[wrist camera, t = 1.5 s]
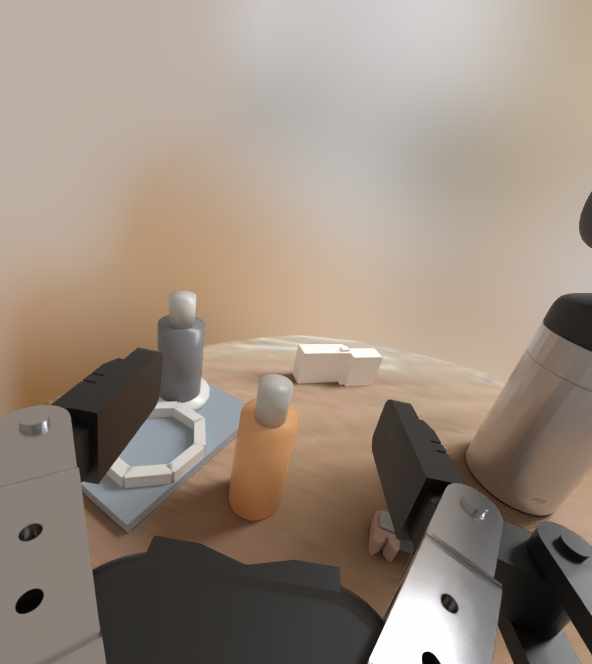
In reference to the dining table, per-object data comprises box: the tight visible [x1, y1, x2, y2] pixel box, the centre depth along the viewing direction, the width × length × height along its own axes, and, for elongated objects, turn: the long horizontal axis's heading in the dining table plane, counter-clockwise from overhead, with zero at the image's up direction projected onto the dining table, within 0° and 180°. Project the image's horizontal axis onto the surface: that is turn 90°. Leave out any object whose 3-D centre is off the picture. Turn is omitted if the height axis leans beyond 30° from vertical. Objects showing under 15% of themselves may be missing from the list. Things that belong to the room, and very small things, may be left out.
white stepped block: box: [292, 344, 383, 386], centre depth 45 cm, size 15×11×6 cm
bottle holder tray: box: [81, 291, 245, 533], centre depth 29 cm, size 16×11×13 cm
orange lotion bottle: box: [228, 374, 299, 521], centre depth 25 cm, size 4×4×12 cm
